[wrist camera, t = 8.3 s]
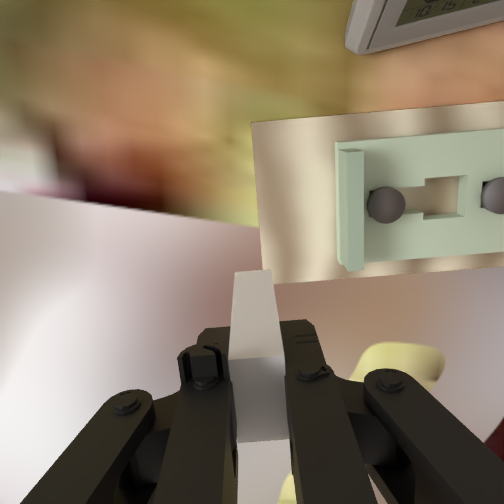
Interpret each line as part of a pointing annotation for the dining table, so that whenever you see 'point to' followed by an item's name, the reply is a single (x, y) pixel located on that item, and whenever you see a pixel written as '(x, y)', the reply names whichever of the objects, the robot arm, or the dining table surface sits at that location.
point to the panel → (413, 175)
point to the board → (380, 200)
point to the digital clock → (413, 21)
